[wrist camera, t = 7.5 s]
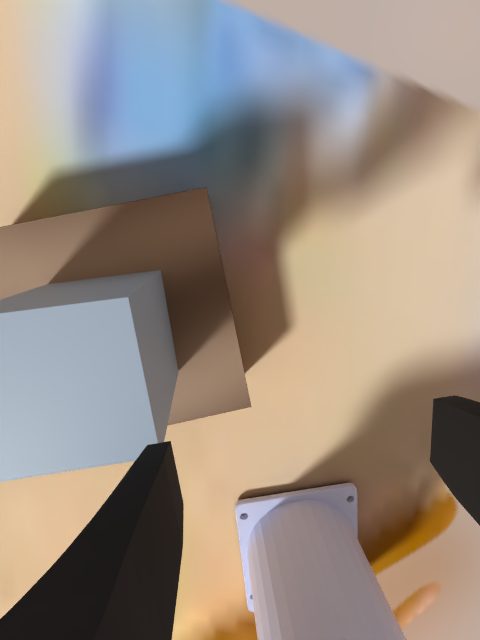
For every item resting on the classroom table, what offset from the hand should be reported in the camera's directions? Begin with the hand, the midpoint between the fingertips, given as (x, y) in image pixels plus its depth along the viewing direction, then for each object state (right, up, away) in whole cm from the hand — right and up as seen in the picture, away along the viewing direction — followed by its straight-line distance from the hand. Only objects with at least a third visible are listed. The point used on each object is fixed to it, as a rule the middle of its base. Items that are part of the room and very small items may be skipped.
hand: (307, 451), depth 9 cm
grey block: (-7, +3, +5) cm, 10 cm away
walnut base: (-7, +4, +9) cm, 13 cm away
